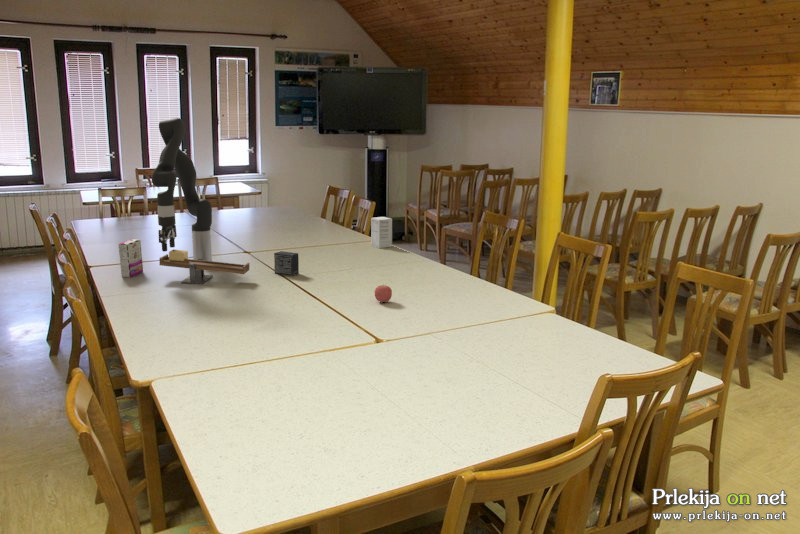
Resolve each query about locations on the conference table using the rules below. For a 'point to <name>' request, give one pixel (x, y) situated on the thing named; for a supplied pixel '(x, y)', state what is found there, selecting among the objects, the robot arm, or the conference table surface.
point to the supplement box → (381, 232)
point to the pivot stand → (196, 276)
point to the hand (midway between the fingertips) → (168, 249)
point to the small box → (286, 263)
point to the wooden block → (178, 256)
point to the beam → (207, 265)
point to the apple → (383, 293)
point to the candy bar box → (130, 258)
